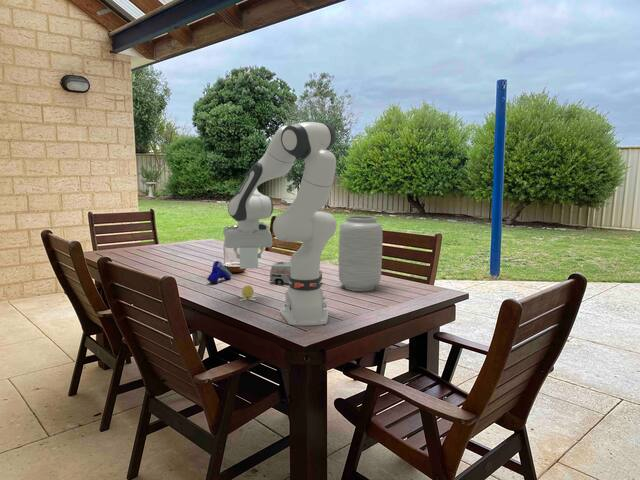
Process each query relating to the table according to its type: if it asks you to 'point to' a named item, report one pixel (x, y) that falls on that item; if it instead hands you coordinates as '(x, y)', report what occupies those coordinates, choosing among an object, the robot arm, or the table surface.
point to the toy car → (282, 273)
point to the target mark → (247, 298)
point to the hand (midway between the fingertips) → (248, 258)
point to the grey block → (248, 257)
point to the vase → (360, 253)
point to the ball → (247, 291)
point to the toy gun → (219, 273)
